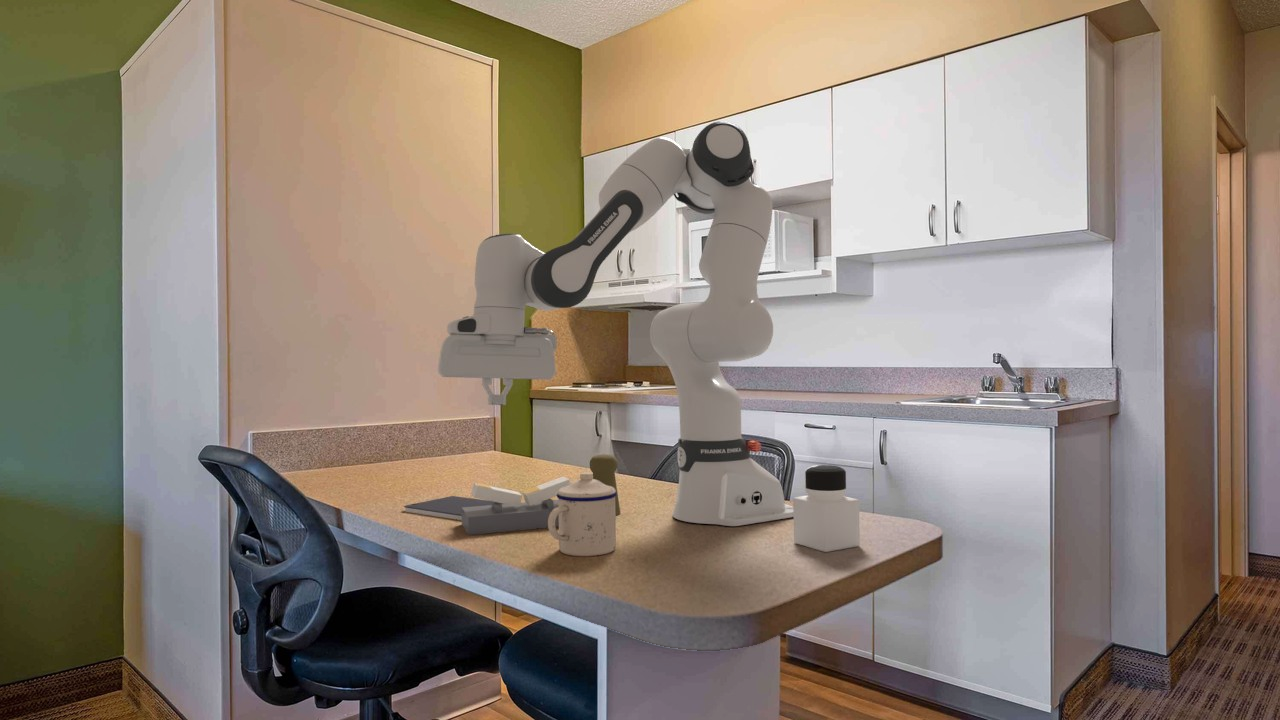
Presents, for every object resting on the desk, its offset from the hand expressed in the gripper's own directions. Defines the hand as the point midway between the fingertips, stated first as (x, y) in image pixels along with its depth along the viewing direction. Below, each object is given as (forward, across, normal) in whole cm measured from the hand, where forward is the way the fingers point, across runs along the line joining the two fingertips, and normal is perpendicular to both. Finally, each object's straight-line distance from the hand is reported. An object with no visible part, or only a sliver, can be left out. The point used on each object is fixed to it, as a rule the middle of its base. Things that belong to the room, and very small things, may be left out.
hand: (496, 404), depth 136 cm
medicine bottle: (+20, -46, +33) cm, 60 cm away
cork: (+20, -21, -3) cm, 30 cm away
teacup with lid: (+22, -10, +23) cm, 33 cm away
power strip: (+21, -8, 0) cm, 22 cm away
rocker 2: (+16, -10, 0) cm, 19 cm away
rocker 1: (+16, 0, 0) cm, 16 cm away
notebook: (+22, +3, -17) cm, 28 cm away
